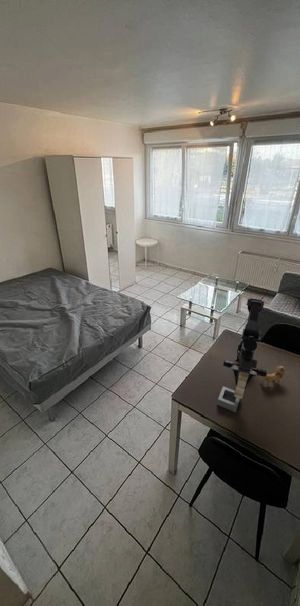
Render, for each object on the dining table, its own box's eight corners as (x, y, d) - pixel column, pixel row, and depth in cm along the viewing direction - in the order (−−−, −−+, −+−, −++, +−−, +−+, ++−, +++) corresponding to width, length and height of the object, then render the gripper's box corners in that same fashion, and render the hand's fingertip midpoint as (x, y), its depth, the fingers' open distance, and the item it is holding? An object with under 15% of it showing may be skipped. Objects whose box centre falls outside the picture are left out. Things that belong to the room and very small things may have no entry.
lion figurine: (275, 374, 141) (279, 362, 137) (284, 381, 137) (288, 368, 133) (257, 384, 135) (260, 372, 131) (265, 391, 131) (269, 379, 127)
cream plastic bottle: (235, 390, 123) (239, 371, 117) (242, 393, 122) (247, 373, 116) (234, 396, 120) (239, 376, 114) (242, 398, 119) (247, 378, 113)
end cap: (221, 391, 131) (223, 386, 129) (239, 398, 128) (241, 393, 126) (216, 404, 125) (218, 399, 123) (235, 412, 121) (237, 406, 119)
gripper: (226, 346, 116) (219, 381, 112) (271, 357, 110) (265, 394, 106) (226, 349, 126) (220, 381, 123) (267, 359, 120) (261, 393, 117)
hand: (240, 387), depth 117 cm, fingers closed on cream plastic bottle, 3 cm apart
